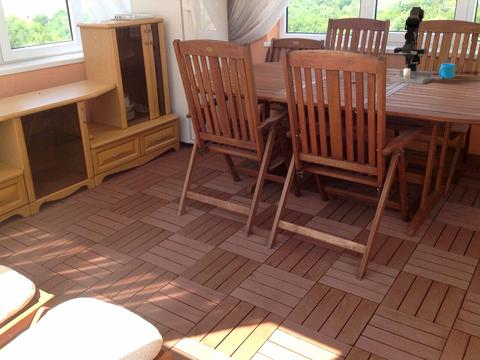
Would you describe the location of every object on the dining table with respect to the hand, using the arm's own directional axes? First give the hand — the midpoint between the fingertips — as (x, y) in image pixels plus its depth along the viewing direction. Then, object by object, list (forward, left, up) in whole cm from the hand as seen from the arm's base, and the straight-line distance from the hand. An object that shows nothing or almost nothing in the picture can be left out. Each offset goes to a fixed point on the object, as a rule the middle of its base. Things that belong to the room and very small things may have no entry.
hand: (408, 65), depth 307 cm
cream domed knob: (+3, 0, -9) cm, 9 cm away
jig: (+3, +3, -9) cm, 10 cm away
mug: (-14, +18, -9) cm, 25 cm away
